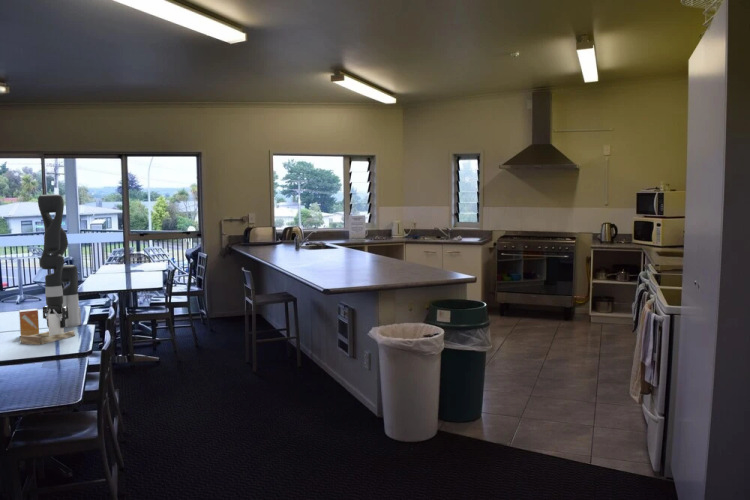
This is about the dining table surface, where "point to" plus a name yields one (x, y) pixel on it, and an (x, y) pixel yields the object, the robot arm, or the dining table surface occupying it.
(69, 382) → the dining table surface
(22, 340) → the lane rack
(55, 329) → the white carton
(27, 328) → the small box
